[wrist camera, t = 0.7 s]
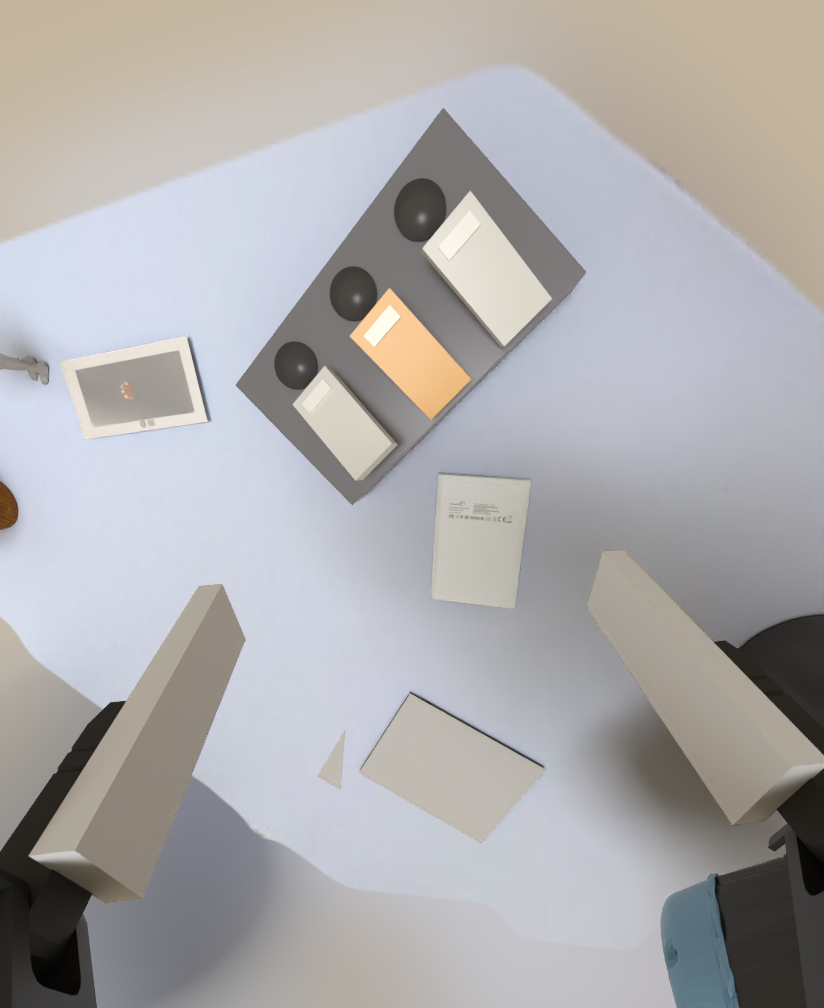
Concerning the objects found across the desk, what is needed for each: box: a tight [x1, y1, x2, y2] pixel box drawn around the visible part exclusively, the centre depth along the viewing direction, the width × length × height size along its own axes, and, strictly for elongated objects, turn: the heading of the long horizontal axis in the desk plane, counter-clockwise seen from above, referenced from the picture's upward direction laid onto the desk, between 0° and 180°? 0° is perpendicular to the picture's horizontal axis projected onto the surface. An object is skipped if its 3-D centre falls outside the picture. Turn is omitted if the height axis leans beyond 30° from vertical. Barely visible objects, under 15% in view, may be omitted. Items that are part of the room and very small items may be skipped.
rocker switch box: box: [236, 108, 586, 505], centre depth 28 cm, size 14×24×4 cm, turn 135°
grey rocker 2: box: [422, 191, 552, 347], centre depth 23 cm, size 8×4×1 cm, turn 45°
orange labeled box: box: [350, 288, 471, 419], centre depth 25 cm, size 8×4×1 cm, turn 45°
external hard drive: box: [431, 473, 531, 609], centre depth 33 cm, size 2×8×12 cm
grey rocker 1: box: [293, 366, 398, 481], centre depth 27 cm, size 8×4×1 cm, turn 44°
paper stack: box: [317, 694, 546, 843], centre depth 42 cm, size 23×25×1 cm
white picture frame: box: [60, 336, 208, 439], centre depth 35 cm, size 8×15×2 cm, turn 97°
